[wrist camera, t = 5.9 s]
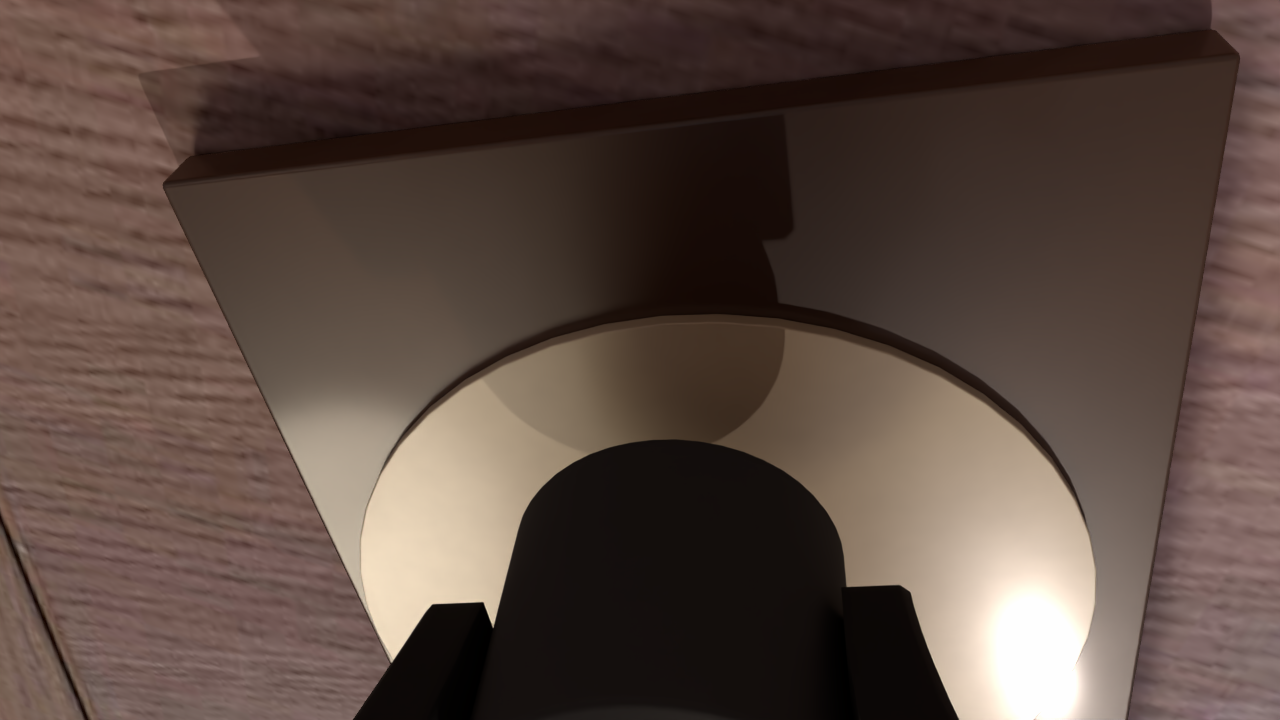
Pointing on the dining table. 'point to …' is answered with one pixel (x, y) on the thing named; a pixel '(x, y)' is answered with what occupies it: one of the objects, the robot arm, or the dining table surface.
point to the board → (761, 330)
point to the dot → (670, 594)
